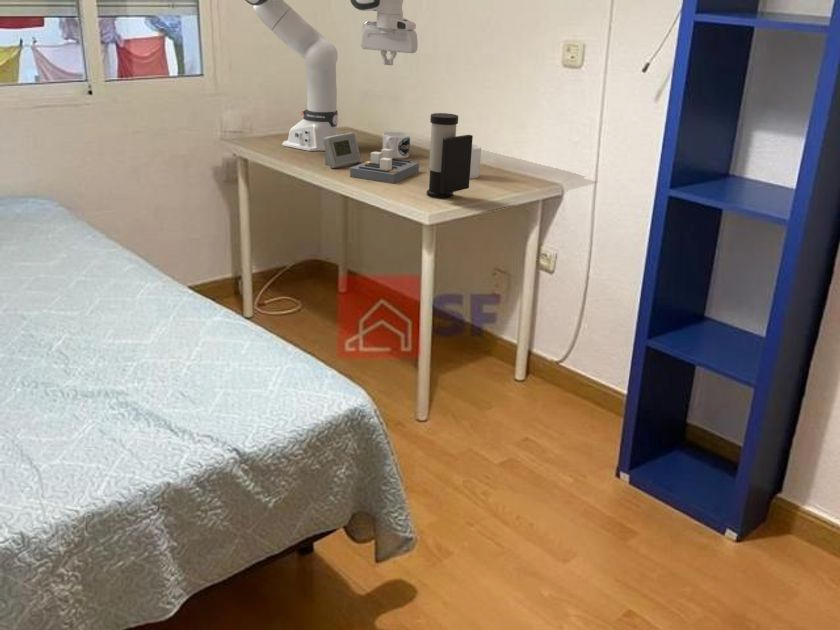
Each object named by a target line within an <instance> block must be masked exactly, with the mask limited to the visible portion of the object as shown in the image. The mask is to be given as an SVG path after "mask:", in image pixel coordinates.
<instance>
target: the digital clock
mask: <svg viewBox="0 0 840 630" xmlns="http://www.w3.org/2000/svg"><path fill="white" fill-rule="evenodd" d="M323 143H324V147H325V150H324V151H325V153H324V159H325V160H324V162H325V163H324V165H325V166H329V168H330V169H336V168H338V169H340V168H344V167H348V166H352V165H355V164H358V163H359V164H360V162H361V161H362V158H361V154H360V149H359V146H358V141H357V137H356V134H355V132H353V131H351V132H344V133H339V134H337V135H331V136H328V137H325V138H324V139H323Z"/></svg>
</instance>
